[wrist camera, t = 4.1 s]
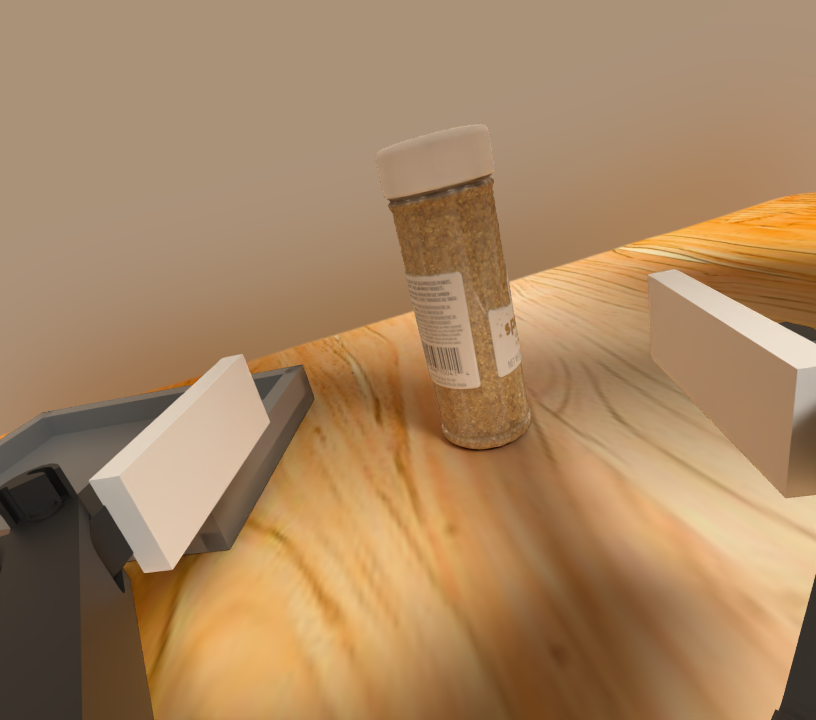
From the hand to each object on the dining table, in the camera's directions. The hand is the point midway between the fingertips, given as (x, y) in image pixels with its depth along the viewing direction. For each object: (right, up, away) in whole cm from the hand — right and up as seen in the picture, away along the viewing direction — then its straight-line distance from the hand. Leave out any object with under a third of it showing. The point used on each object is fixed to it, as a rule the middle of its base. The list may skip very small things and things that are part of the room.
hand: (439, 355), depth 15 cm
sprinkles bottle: (+3, -4, +8) cm, 10 cm away
